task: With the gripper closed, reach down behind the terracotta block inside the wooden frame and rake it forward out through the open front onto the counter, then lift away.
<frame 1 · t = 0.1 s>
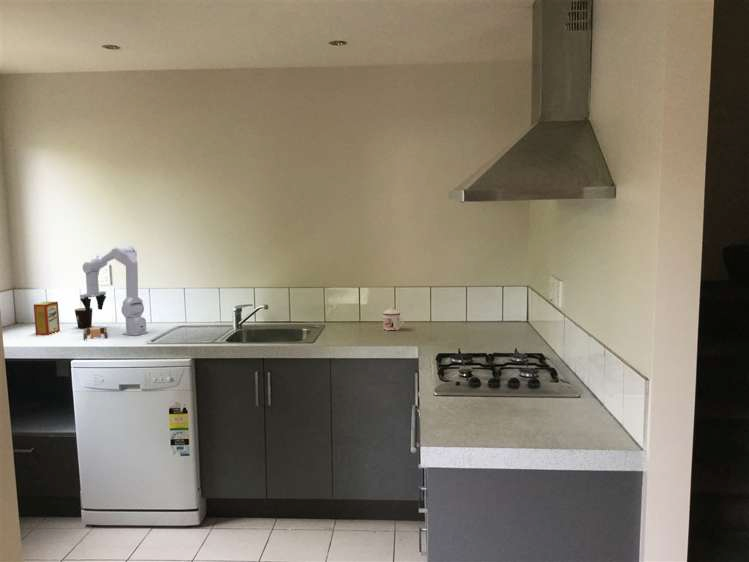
hand: (94, 310, 316), 10 cm above the countertop, tool pointing down, fingers open, 7 cm apart
baking soda box: (48, 333, 309), on the countertop
wooden frame: (95, 339, 294), on the countertop
terracotta block: (95, 337, 298), on the countertop
teacup with lid: (393, 330, 311), on the countertop
coffee mug: (84, 328, 322), on the countertop
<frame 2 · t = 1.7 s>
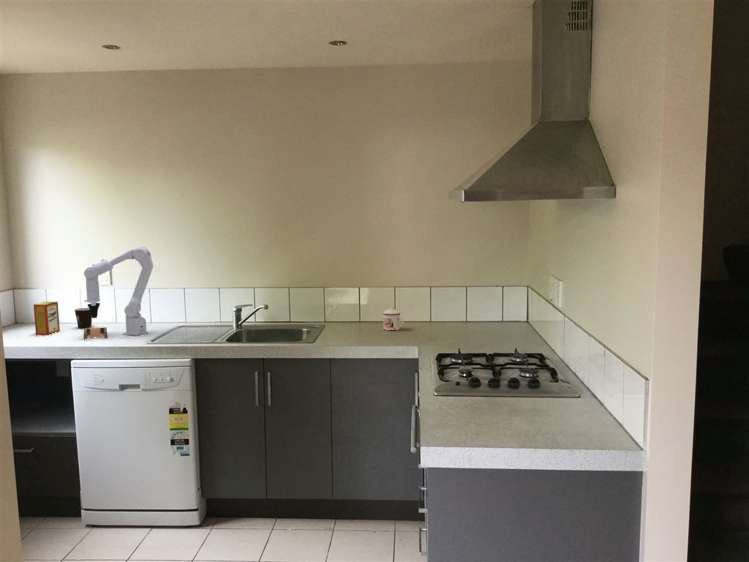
hand: (94, 317, 302), 9 cm above the countertop, tool pointing down, fingers closed
nothing on the countertop moved.
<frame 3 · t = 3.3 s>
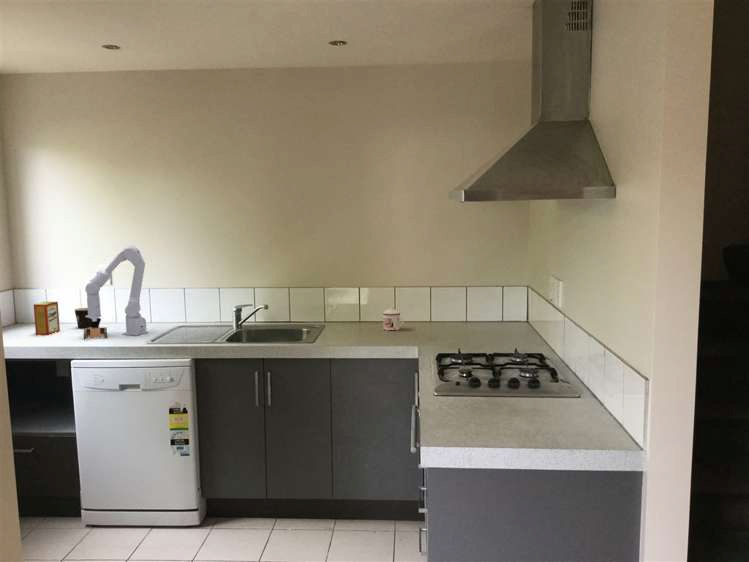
hand: (95, 333, 301), 1 cm above the countertop, tool pointing down, fingers closed
terracotta block: (95, 337, 298), on the countertop, touching gripper
everything else where it was.
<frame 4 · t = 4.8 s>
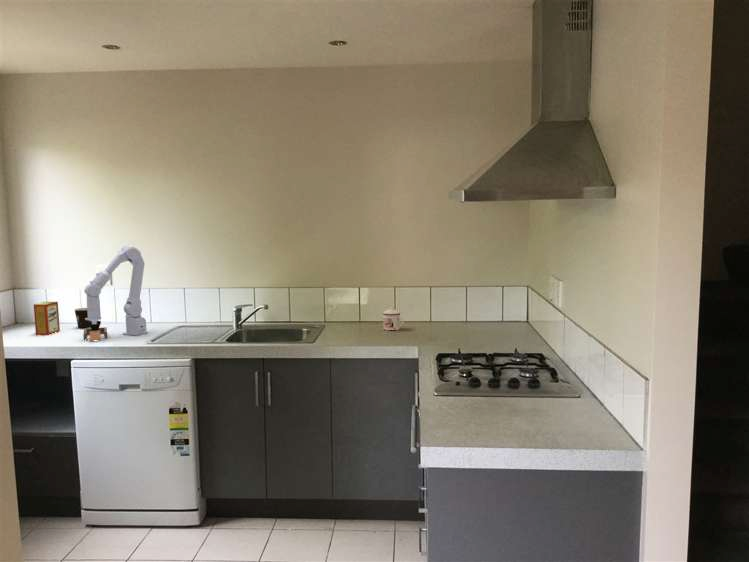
hand: (95, 336, 294), 1 cm above the countertop, tool pointing down, fingers closed
terracotta block: (95, 340, 291), on the countertop, touching gripper
everything else where it was.
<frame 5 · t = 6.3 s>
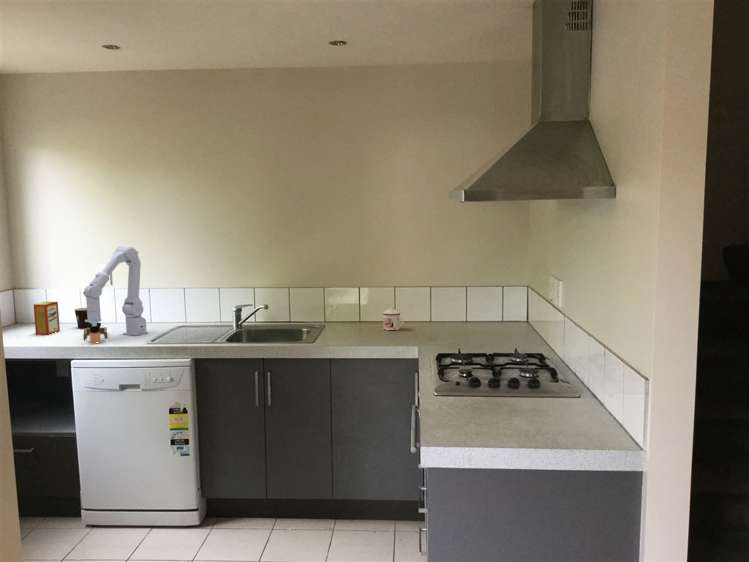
hand: (95, 338, 289), 1 cm above the countertop, tool pointing down, fingers closed
terracotta block: (95, 342, 286), on the countertop, touching gripper
everything else where it was.
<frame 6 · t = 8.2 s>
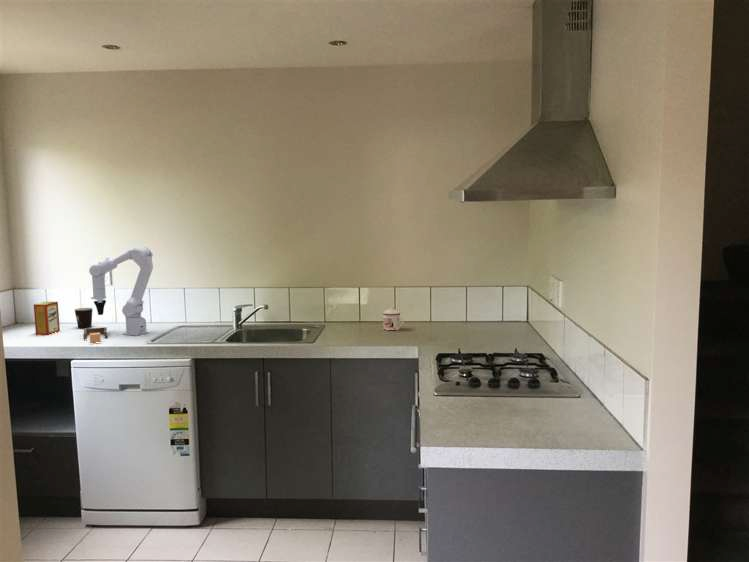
hand: (100, 314, 308), 9 cm above the countertop, tool pointing down, fingers closed
terracotta block: (95, 342, 286), on the countertop
everything else where it was.
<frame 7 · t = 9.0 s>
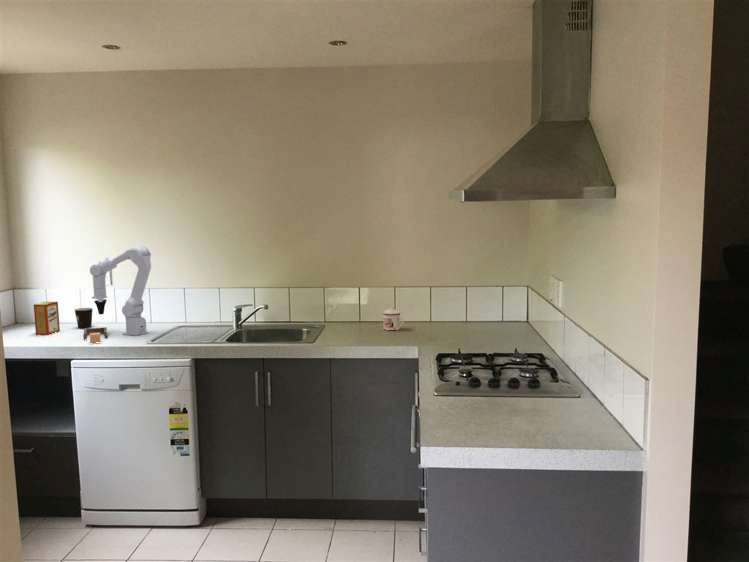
hand: (101, 314, 309), 9 cm above the countertop, tool pointing down, fingers closed
nothing on the countertop moved.
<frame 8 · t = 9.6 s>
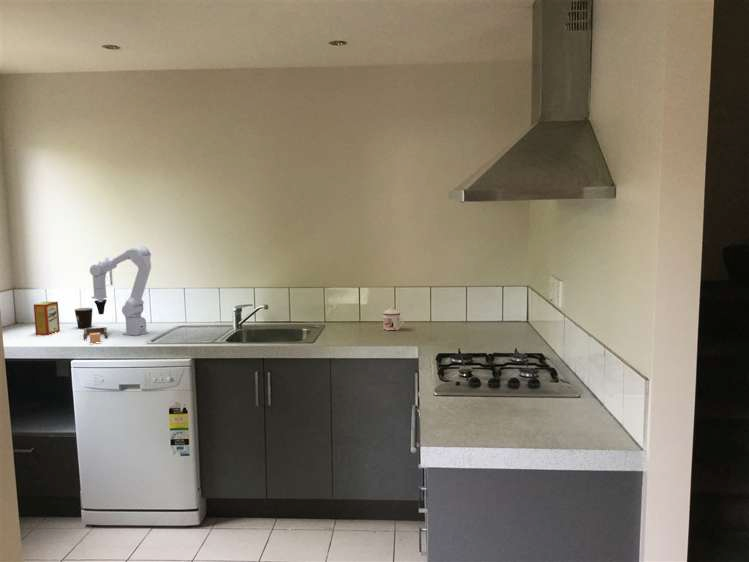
hand: (101, 314, 309), 9 cm above the countertop, tool pointing down, fingers closed
nothing on the countertop moved.
at the end: terracotta block inside the target area (0.3 cm from its centre), on the countertop; terracotta block moved 13.4 cm from its start; terracotta block tilted 0° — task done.
